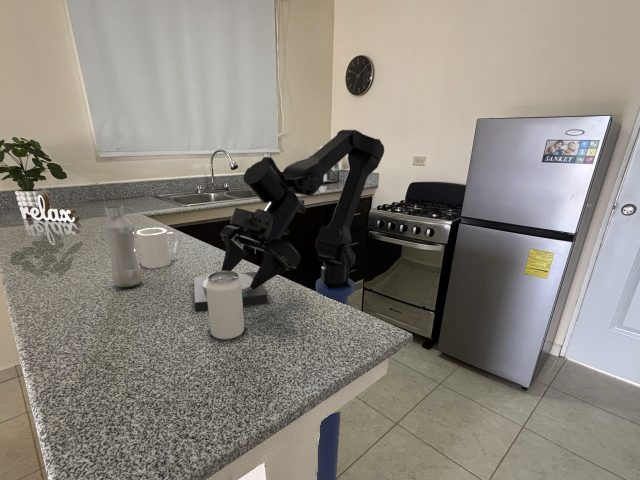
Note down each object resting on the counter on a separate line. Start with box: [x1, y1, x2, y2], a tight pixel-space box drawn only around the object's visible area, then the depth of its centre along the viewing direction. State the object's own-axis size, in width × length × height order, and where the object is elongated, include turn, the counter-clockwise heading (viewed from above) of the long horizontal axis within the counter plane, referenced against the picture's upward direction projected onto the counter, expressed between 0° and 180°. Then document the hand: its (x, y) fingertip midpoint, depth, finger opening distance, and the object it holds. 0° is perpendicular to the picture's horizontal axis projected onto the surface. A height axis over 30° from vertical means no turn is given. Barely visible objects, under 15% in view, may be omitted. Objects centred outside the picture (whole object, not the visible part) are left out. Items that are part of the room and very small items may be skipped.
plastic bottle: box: [102, 205, 143, 288], centre depth 85 cm, size 6×7×20 cm
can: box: [206, 270, 245, 341], centre depth 67 cm, size 6×6×12 cm
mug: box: [135, 227, 182, 269], centre depth 103 cm, size 12×9×10 cm
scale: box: [193, 271, 268, 313], centre depth 85 cm, size 16×15×3 cm
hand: (236, 281), depth 68 cm, fingers open, 9 cm apart
